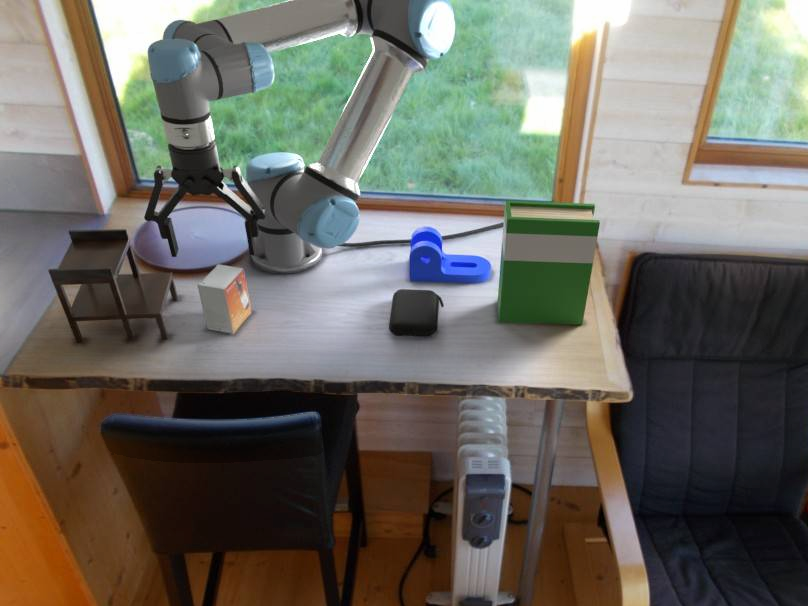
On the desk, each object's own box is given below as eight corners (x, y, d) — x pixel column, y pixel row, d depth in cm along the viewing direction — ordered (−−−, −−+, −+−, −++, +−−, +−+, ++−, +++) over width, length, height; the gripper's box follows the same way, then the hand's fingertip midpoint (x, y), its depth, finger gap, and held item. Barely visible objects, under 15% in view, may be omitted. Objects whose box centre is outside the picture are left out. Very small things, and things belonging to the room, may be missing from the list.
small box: (233, 335, 144) (224, 290, 137) (206, 329, 145) (196, 284, 138) (252, 312, 150) (244, 267, 143) (227, 307, 151) (217, 263, 144)
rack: (178, 297, 152) (160, 228, 141) (167, 339, 142) (146, 267, 131) (94, 300, 149) (69, 230, 138) (76, 343, 139) (48, 270, 128)
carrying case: (442, 341, 148) (443, 299, 159) (442, 329, 146) (444, 287, 157) (388, 339, 147) (393, 297, 158) (387, 327, 145) (393, 285, 156)
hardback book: (578, 304, 161) (594, 204, 145) (582, 324, 156) (599, 222, 140) (497, 301, 159) (505, 200, 144) (499, 322, 154) (507, 219, 138)
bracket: (409, 280, 163) (409, 245, 157) (411, 260, 169) (411, 225, 163) (491, 283, 165) (493, 248, 159) (489, 263, 171) (492, 229, 165)
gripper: (105, 150, 118) (138, 264, 132) (267, 151, 123) (283, 261, 136) (115, 131, 123) (145, 243, 137) (270, 132, 128) (285, 240, 142)
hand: (214, 252), depth 137 cm, fingers open, 13 cm apart
